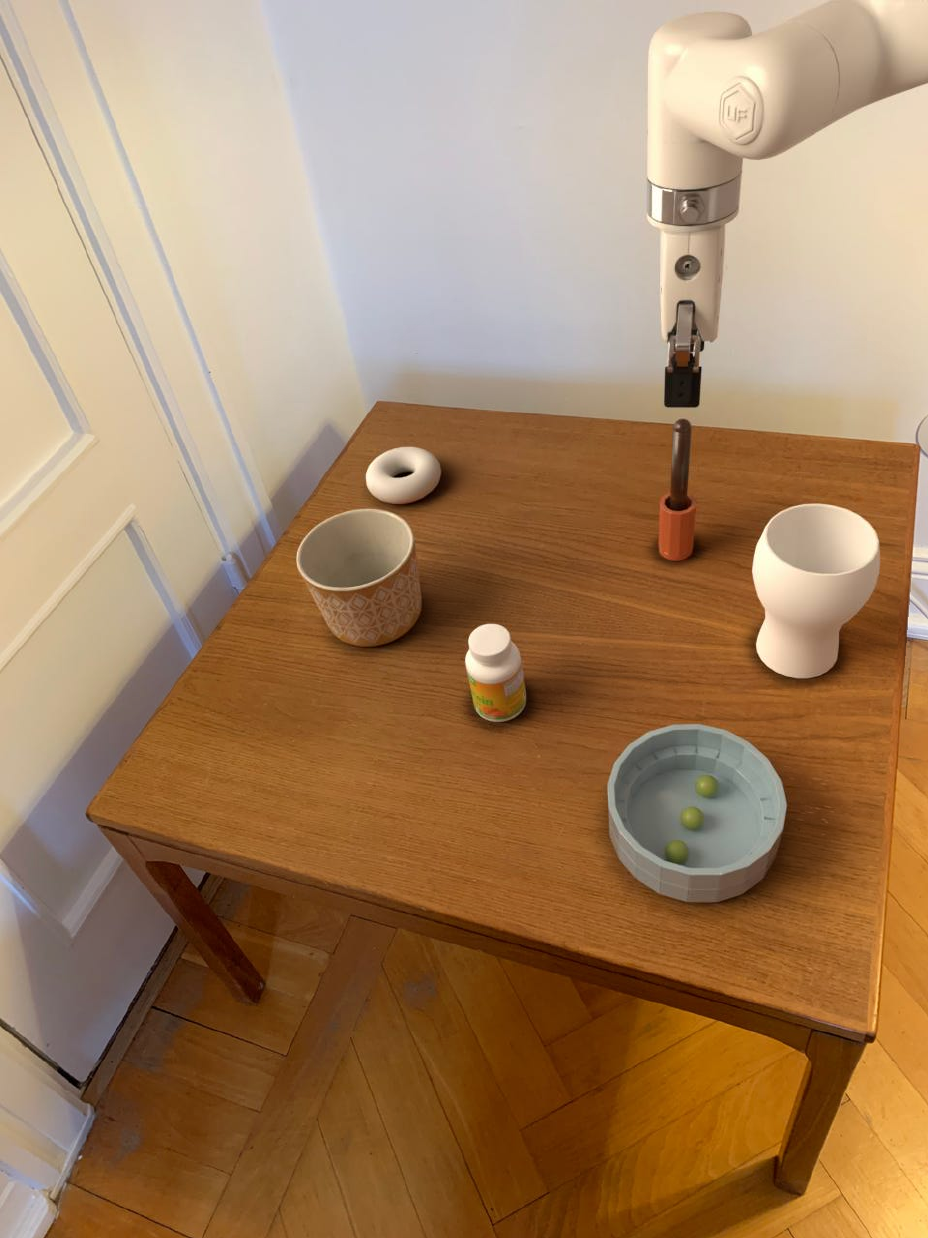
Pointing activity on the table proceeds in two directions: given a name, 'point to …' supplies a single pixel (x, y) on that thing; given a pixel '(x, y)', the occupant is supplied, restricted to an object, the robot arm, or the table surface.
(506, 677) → the supplement bottle
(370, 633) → the planter
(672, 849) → the pea
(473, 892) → the table surface
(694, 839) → the bowl
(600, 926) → the table surface
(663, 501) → the holder
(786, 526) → the cup
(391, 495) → the donut
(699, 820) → the pea
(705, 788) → the pea
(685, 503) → the stick
